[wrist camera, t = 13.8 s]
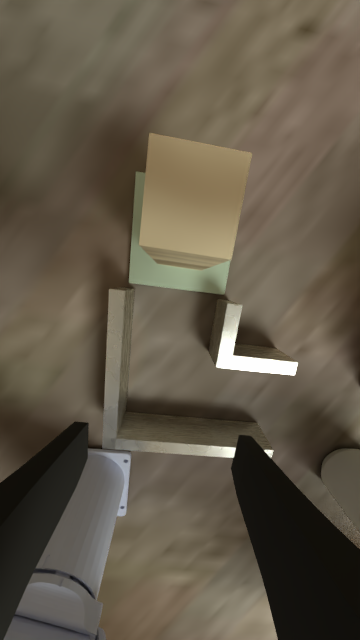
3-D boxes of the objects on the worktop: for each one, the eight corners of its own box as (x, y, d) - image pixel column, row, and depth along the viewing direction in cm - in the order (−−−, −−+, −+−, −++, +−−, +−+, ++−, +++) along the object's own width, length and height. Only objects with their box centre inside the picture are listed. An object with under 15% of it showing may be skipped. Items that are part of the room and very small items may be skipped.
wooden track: (255, 431, 21) (270, 460, 18) (114, 420, 20) (102, 448, 17) (285, 307, 18) (311, 313, 15) (121, 287, 17) (108, 288, 14)
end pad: (223, 294, 18) (224, 294, 17) (129, 282, 17) (128, 282, 17) (241, 190, 16) (242, 188, 15) (136, 174, 15) (135, 171, 15)
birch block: (200, 270, 17) (231, 259, 8) (157, 264, 16) (139, 245, 8) (208, 223, 16) (252, 152, 7) (163, 216, 16) (149, 132, 7)
